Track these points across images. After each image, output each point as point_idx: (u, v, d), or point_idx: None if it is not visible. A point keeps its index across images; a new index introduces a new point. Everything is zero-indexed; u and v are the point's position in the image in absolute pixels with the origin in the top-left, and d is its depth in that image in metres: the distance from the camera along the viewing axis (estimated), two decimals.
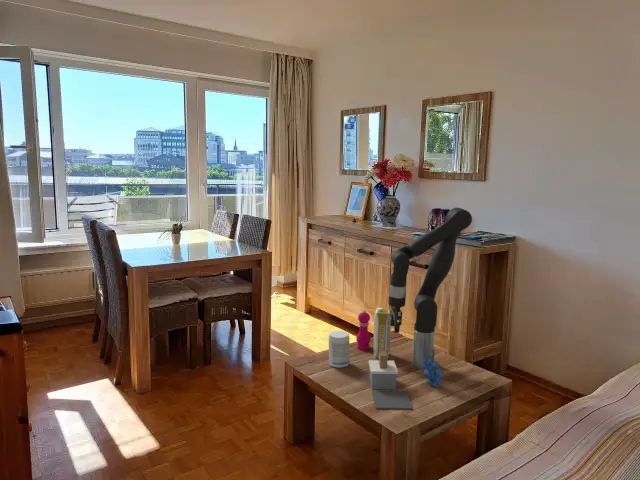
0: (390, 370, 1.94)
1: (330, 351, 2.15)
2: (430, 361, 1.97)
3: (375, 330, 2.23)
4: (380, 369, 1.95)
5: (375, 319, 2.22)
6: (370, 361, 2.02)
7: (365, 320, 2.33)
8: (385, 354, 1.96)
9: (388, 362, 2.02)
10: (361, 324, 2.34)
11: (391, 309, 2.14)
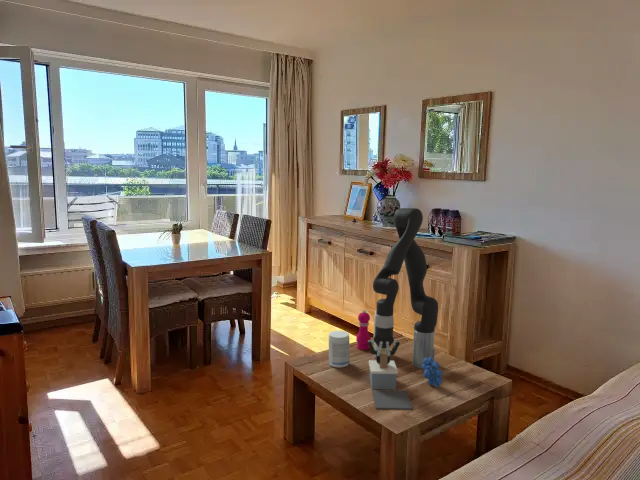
0: (390, 370, 1.94)
1: (330, 351, 2.15)
2: (430, 361, 1.97)
3: None
4: (380, 369, 1.95)
5: None
6: (370, 361, 2.02)
7: (365, 320, 2.33)
8: (385, 354, 1.96)
9: None
10: (361, 324, 2.34)
11: (381, 342, 1.95)
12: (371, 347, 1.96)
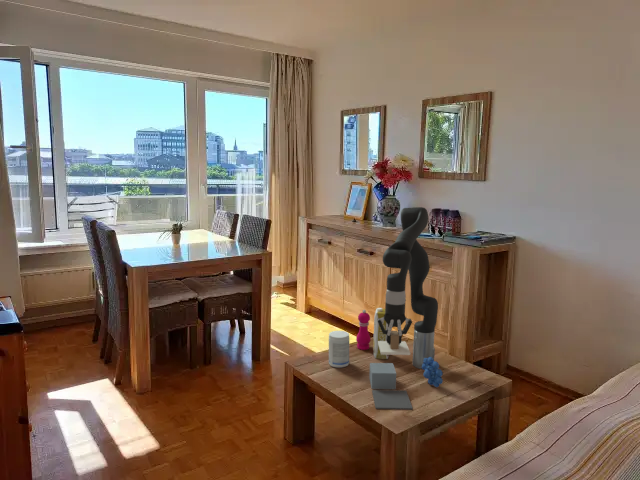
0: (402, 351, 1.78)
1: (330, 351, 2.15)
2: (430, 361, 1.97)
3: (375, 330, 2.23)
4: (391, 350, 1.79)
5: (375, 319, 2.22)
6: (380, 342, 1.86)
7: (365, 320, 2.33)
8: (396, 334, 1.80)
9: None
10: (361, 324, 2.34)
11: (392, 320, 1.78)
12: (381, 326, 1.80)
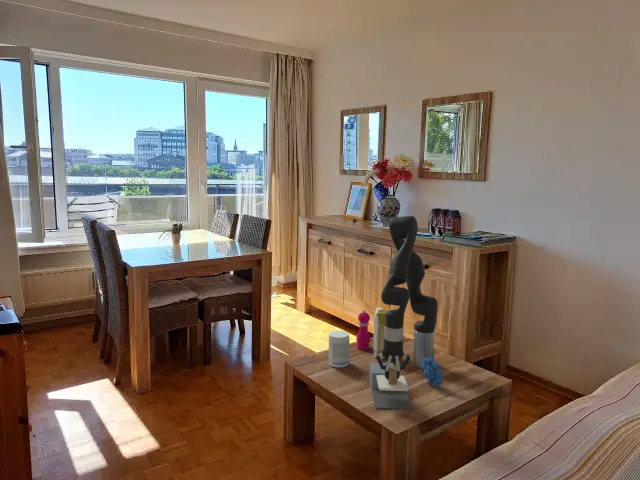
0: (400, 387, 1.80)
1: (330, 351, 2.15)
2: (430, 361, 1.97)
3: (375, 330, 2.23)
4: (389, 385, 1.81)
5: (375, 319, 2.22)
6: (378, 376, 1.89)
7: (365, 320, 2.33)
8: (394, 369, 1.83)
9: None
10: (361, 324, 2.34)
11: (390, 356, 1.81)
12: (379, 362, 1.82)
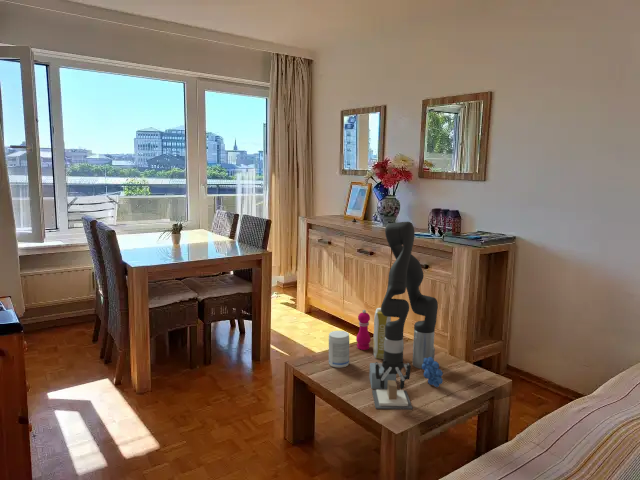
0: (400, 401, 1.81)
1: (330, 351, 2.15)
2: (430, 361, 1.97)
3: (375, 330, 2.23)
4: (389, 400, 1.82)
5: (375, 319, 2.22)
6: (378, 391, 1.90)
7: (365, 320, 2.33)
8: (394, 384, 1.84)
9: (397, 392, 1.89)
10: (361, 324, 2.34)
11: (390, 368, 1.81)
12: (377, 371, 1.83)
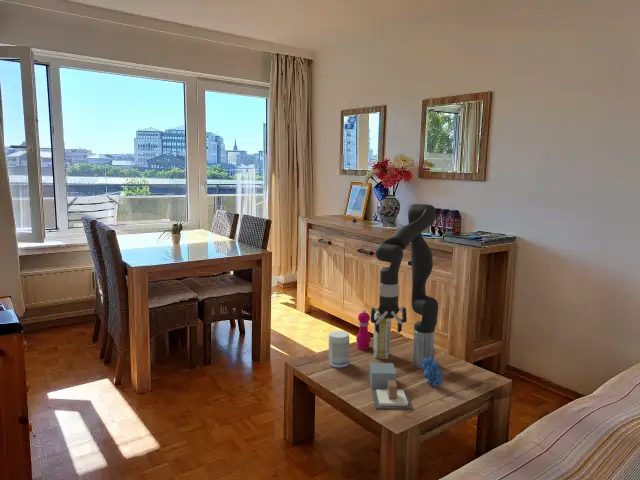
0: (400, 401, 1.81)
1: (330, 351, 2.15)
2: (430, 361, 1.97)
3: None
4: (389, 400, 1.82)
5: (375, 319, 2.22)
6: (378, 391, 1.90)
7: (365, 320, 2.33)
8: (394, 384, 1.84)
9: (397, 392, 1.89)
10: (361, 324, 2.34)
11: (386, 312, 1.86)
12: (373, 315, 1.87)
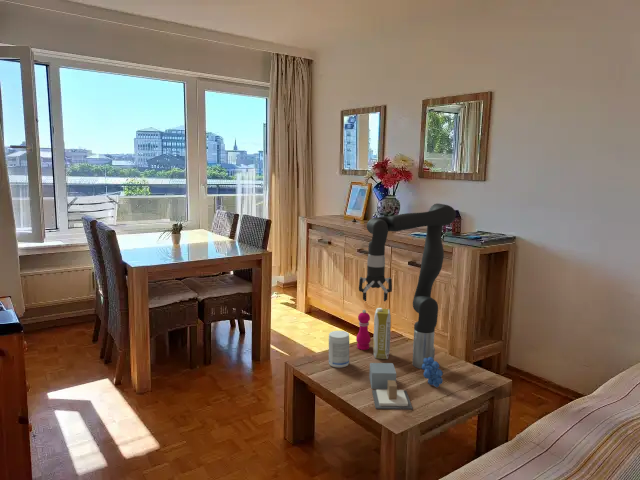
0: (400, 401, 1.81)
1: (330, 351, 2.15)
2: (430, 361, 1.97)
3: (375, 330, 2.23)
4: (389, 400, 1.82)
5: (375, 319, 2.22)
6: (378, 391, 1.90)
7: (365, 320, 2.33)
8: (394, 384, 1.84)
9: (397, 392, 1.89)
10: (361, 324, 2.34)
11: (373, 281, 2.02)
12: (360, 284, 2.03)
